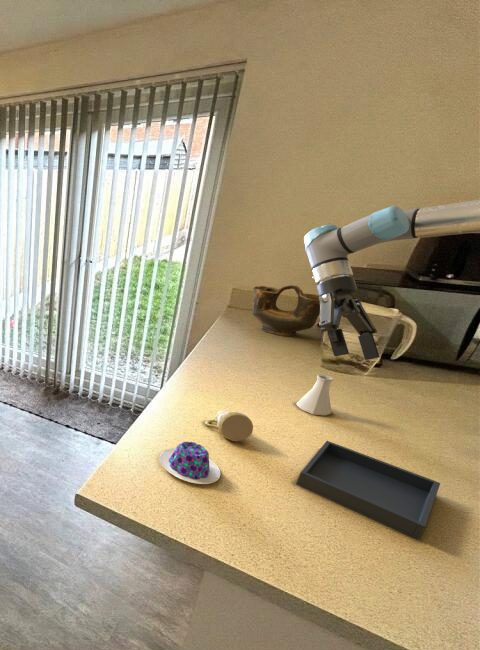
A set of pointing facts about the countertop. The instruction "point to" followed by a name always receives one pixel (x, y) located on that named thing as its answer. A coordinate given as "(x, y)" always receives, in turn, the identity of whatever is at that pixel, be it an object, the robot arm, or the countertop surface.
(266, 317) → the pottery vessel
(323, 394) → the flask
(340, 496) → the tray
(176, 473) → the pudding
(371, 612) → the countertop surface
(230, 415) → the mug
